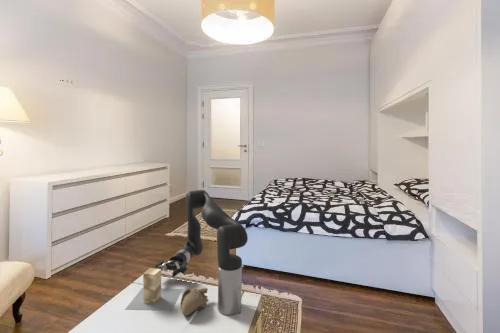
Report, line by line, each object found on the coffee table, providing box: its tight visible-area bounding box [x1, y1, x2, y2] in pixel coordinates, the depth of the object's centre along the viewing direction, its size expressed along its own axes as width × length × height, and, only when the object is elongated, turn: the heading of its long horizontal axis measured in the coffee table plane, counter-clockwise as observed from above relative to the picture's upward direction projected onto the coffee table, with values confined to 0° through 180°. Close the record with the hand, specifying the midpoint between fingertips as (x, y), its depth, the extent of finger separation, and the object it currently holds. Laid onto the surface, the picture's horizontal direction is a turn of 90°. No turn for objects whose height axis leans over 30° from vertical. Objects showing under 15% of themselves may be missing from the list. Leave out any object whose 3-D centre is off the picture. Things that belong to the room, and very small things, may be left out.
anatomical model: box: [179, 287, 209, 317], centre depth 103 cm, size 7×11×15 cm
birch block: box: [142, 267, 162, 304], centre depth 108 cm, size 5×5×12 cm
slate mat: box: [124, 287, 183, 312], centre depth 109 cm, size 18×16×1 cm
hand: (164, 273), depth 117 cm, fingers open, 8 cm apart
